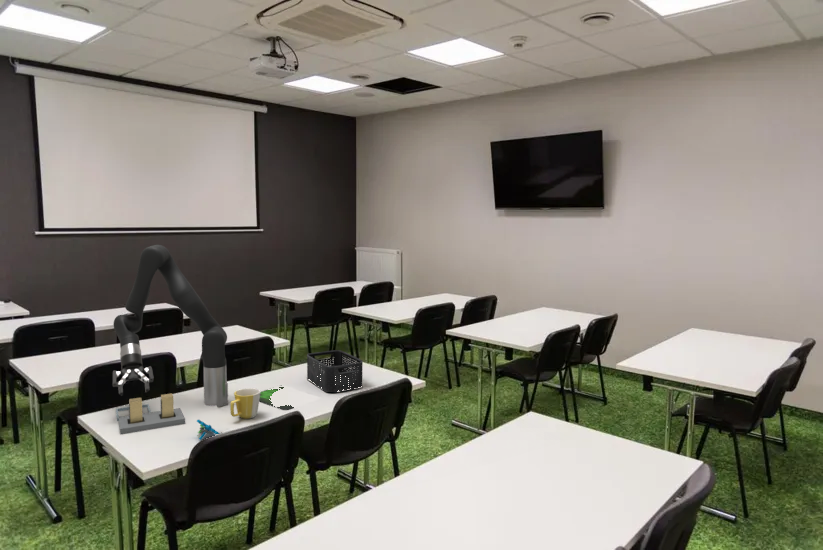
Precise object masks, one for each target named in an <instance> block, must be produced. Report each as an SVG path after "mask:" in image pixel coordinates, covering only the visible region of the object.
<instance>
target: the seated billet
mask: <svg viewBox="0 0 823 550" xmlns="http://www.w3.org/2000/svg"><path fill="white" fill-rule="evenodd" d="M174 407H175V406H174V395H173V393H167V394H166V393H164V394H160V411H161V419H164V418H171V417H174V409H175V408H174Z"/></svg>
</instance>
